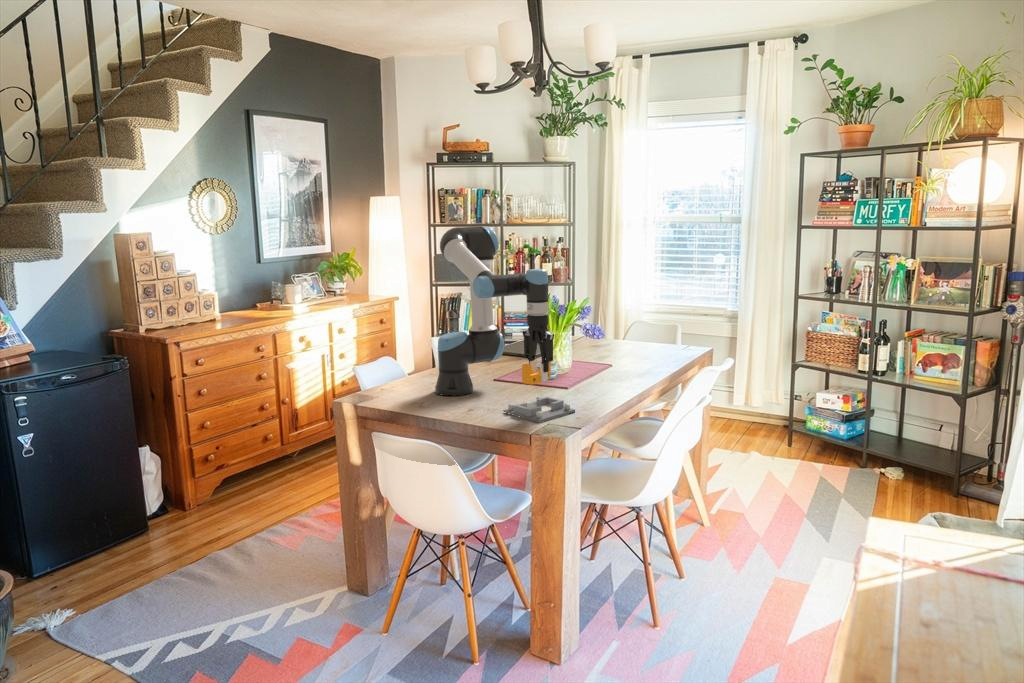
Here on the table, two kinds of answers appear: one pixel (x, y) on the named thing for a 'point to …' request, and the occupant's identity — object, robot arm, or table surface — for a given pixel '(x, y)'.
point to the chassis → (540, 409)
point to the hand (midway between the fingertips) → (539, 379)
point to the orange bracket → (532, 374)
